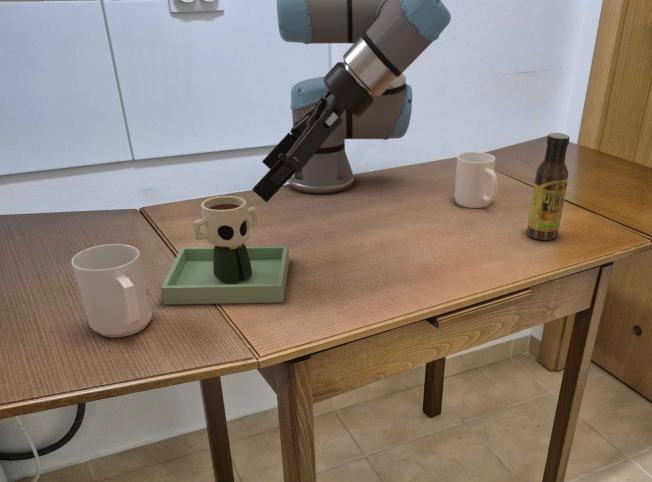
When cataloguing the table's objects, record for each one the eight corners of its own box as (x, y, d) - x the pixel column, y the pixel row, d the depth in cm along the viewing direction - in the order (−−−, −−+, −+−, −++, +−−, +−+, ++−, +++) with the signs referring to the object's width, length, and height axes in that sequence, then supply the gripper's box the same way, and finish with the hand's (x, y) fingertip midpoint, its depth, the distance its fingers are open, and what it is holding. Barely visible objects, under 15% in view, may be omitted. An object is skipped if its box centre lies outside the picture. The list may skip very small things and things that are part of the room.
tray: (183, 262, 114) (181, 247, 113) (289, 261, 116) (288, 245, 115) (163, 304, 101) (160, 288, 100) (283, 302, 103) (281, 285, 101)
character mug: (213, 293, 103) (201, 217, 96) (193, 278, 108) (181, 203, 101) (272, 275, 109) (265, 202, 102) (252, 261, 114) (244, 190, 107)
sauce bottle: (537, 243, 126) (552, 141, 115) (520, 232, 131) (533, 132, 120) (564, 239, 128) (581, 137, 118) (546, 228, 133) (561, 129, 122)
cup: (476, 193, 150) (480, 150, 144) (508, 210, 141) (514, 164, 136) (447, 199, 146) (449, 154, 141) (478, 216, 137) (482, 169, 132)
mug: (81, 322, 96) (62, 254, 90) (140, 304, 101) (125, 238, 95) (111, 356, 89) (92, 284, 83) (173, 335, 94) (159, 266, 88)
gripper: (381, 119, 85) (276, 227, 91) (374, 82, 106) (288, 172, 112) (339, 75, 81) (233, 191, 88) (340, 46, 102) (254, 141, 109)
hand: (264, 180), depth 100 cm, fingers open, 13 cm apart
